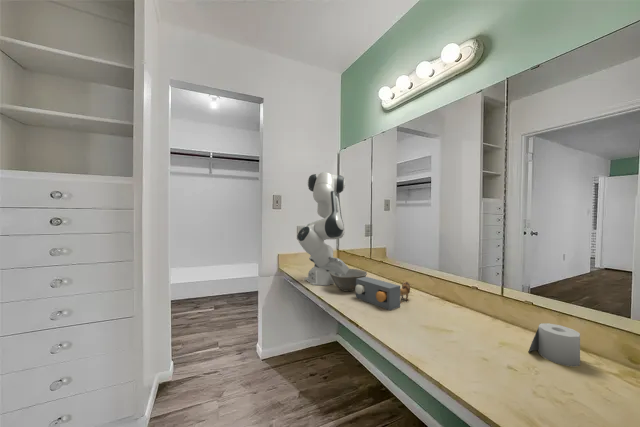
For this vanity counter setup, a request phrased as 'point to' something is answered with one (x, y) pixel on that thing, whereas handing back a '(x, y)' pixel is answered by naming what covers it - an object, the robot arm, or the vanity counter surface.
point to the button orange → (381, 296)
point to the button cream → (360, 289)
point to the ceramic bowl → (348, 279)
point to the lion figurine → (405, 290)
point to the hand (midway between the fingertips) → (339, 274)
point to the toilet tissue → (557, 344)
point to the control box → (375, 286)
